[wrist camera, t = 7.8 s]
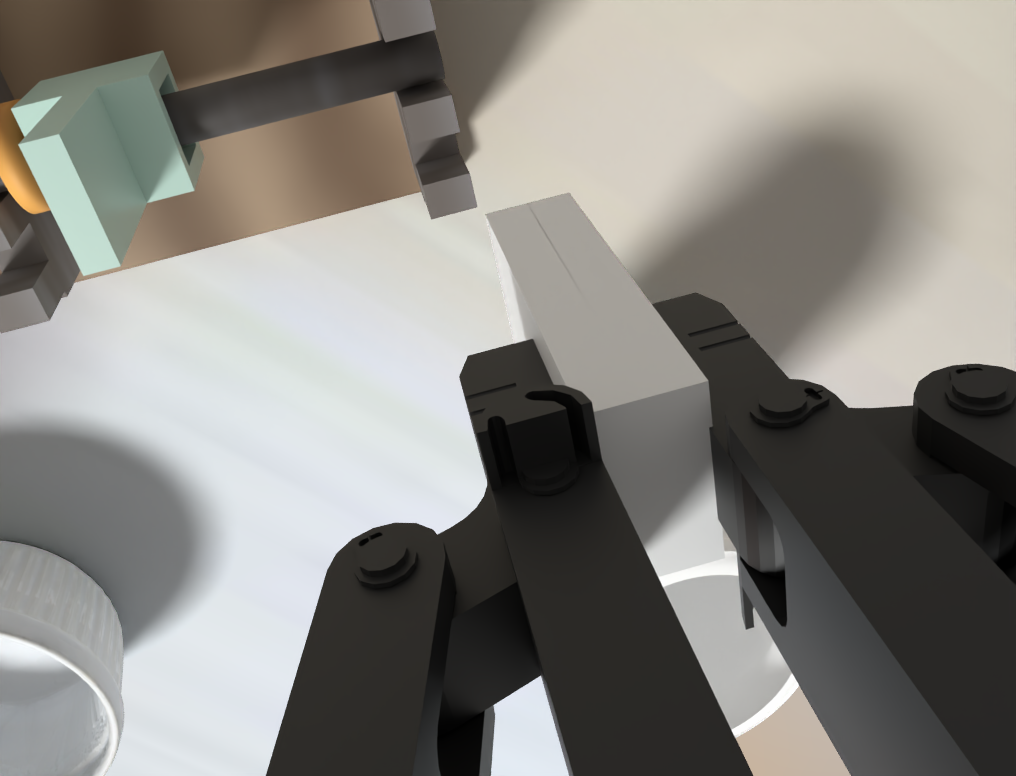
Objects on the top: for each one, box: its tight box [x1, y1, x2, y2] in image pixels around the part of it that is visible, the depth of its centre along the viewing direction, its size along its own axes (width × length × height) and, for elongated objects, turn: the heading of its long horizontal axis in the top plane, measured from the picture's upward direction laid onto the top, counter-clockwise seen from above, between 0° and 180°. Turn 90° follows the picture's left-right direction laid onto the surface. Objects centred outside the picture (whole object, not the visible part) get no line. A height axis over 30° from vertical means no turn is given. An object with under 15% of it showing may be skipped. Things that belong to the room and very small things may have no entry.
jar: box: [658, 527, 799, 738], centre depth 40 cm, size 11×10×15 cm
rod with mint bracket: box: [0, 0, 477, 333], centre depth 31 cm, size 20×12×8 cm, turn 102°
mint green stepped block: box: [11, 50, 204, 276], centre depth 27 cm, size 4×4×9 cm
